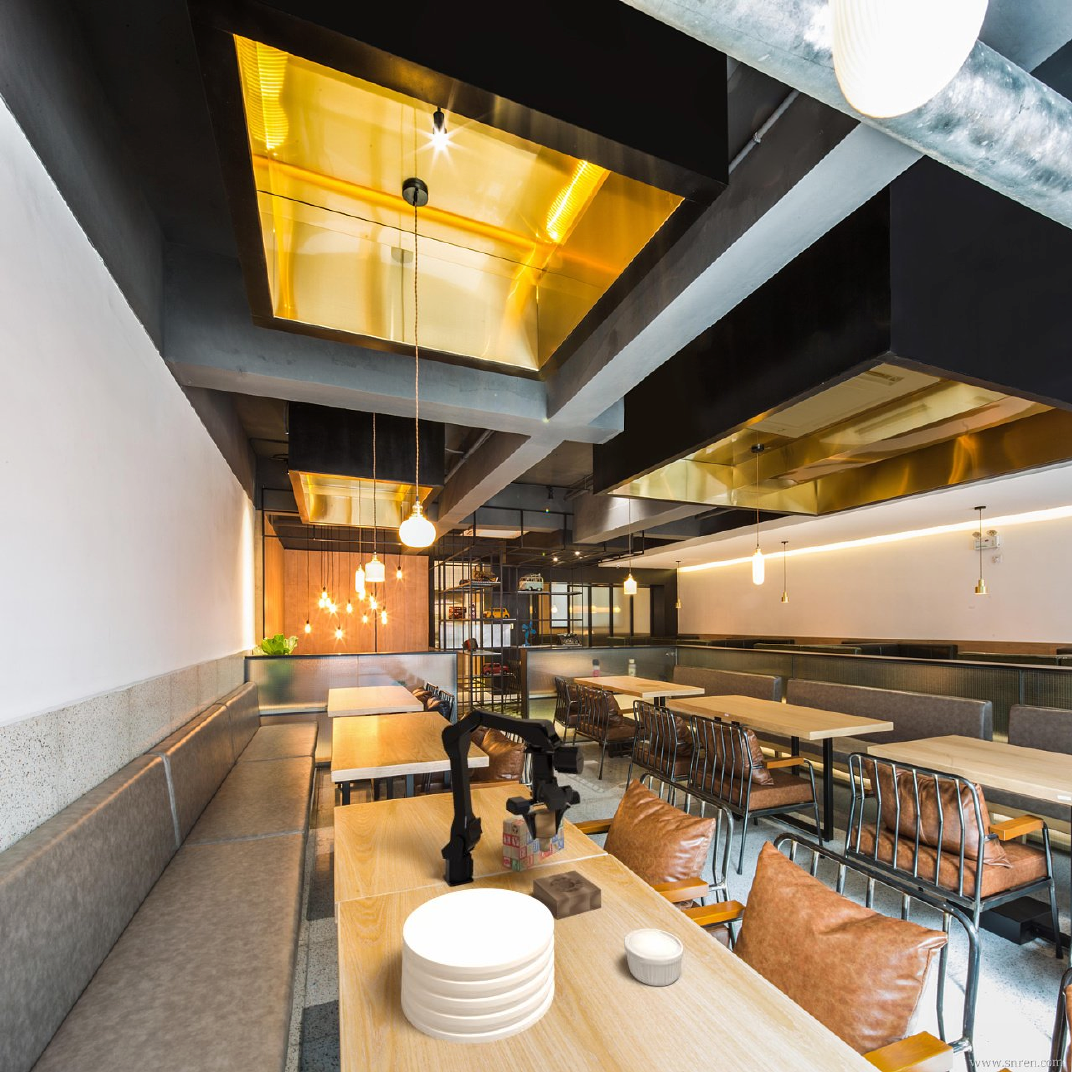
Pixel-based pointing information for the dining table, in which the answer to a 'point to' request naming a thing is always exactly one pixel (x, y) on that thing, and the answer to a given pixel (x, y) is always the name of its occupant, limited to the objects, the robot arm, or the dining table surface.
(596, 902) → the board
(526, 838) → the stack of blocks
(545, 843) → the peg
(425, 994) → the plate stack
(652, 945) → the ramekin
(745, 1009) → the dining table surface
